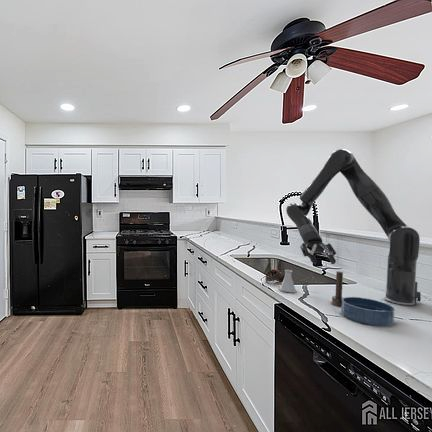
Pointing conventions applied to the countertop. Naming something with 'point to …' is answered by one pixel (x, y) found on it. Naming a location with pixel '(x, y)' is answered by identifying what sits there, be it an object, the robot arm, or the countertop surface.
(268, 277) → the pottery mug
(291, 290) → the flask
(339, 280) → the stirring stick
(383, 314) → the mixing bowl
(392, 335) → the countertop surface
